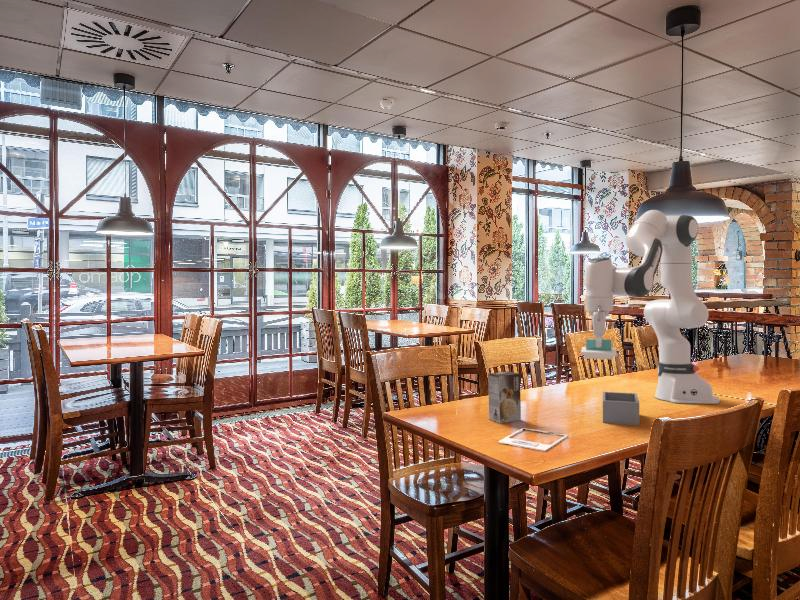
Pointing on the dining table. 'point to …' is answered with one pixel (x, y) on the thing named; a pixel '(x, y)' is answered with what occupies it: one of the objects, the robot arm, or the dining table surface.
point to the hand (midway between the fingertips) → (598, 346)
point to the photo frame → (530, 444)
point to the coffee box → (504, 396)
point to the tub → (620, 408)
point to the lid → (598, 349)
